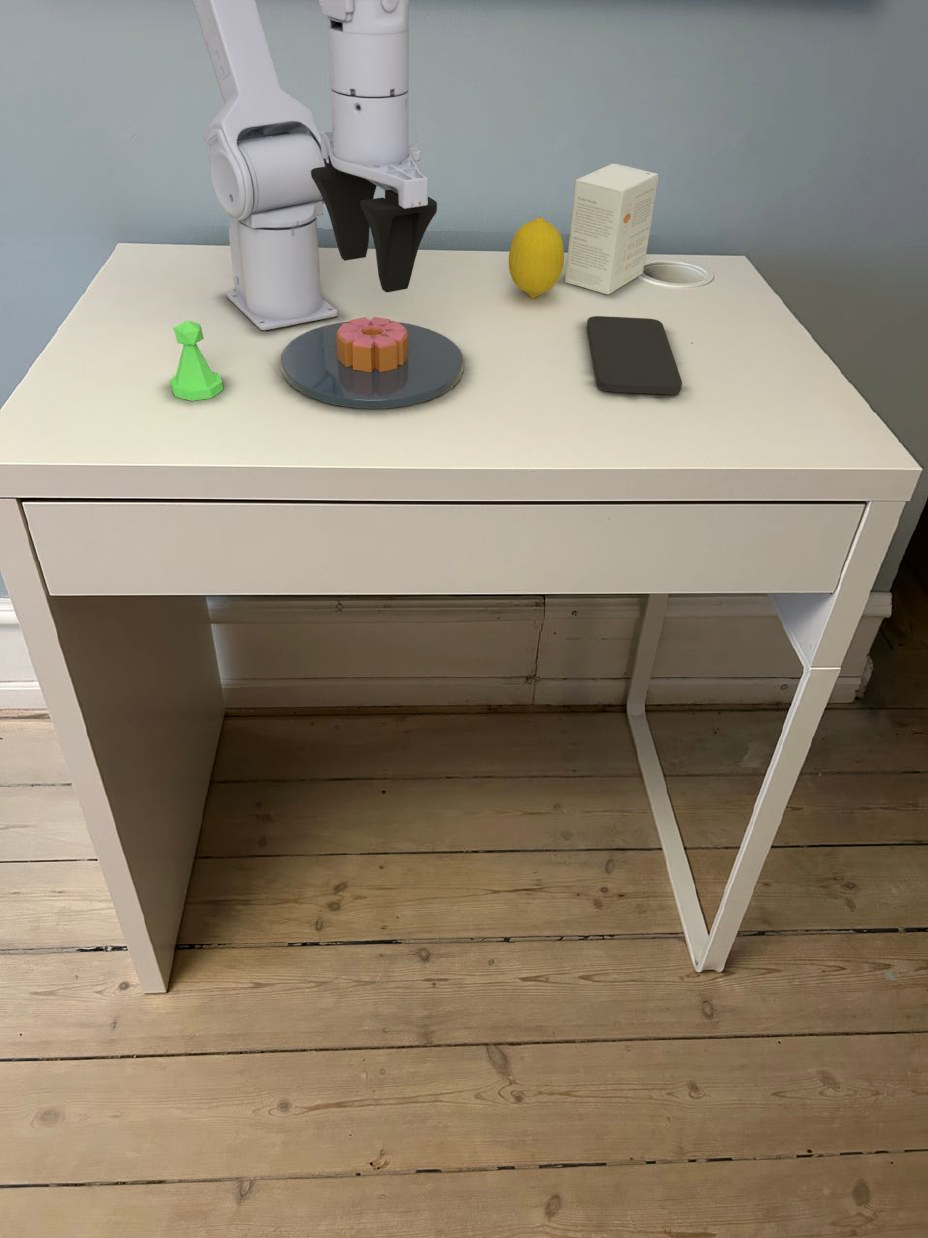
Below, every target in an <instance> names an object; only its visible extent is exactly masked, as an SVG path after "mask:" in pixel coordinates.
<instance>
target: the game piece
mask: <svg viewBox="0 0 928 1238" xmlns="http://www.w3.org/2000/svg"><path fill="white" fill-rule="evenodd" d="M173 331H174V334H175V338H176V343H177V344H180V345H182V346H183V347H182V349H181V355H180V358H179V362H178V365H177V370H176V374H175V375H174V376H173V377H172V378H170V380H169V381H170V387H171V390H172V393H173V394H174V397H176V398H178V399H183V400H187V401H191V402H194V401H201V400H207V399H213V398H214V397H216V396H217V395H218V394H220V393H221V392H222V391H224V386H223V379H222V377H221V376H220V374H219V372H216V371H213V370H212V369H211V367H210V365H209V364H208V362H207V360H206V359H205V356H204V355H203V352H202V351H201V349H200V347H199V346H198V343H200V342H201V341H203V340H205V338H204V333H203V330H202V327H201V323H198V322H196V321H195V322H194V321H191V320H185V321H183V322H181V323H179V324H178V325H176V326H175V327H173Z"/></svg>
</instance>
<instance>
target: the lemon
mask: <svg viewBox="0 0 928 1238" xmlns="http://www.w3.org/2000/svg"><path fill="white" fill-rule="evenodd" d="M508 252H509V253H508V270H509V274H510V277H511V279H512V282H513V283H514V284H515V286H516V287H517V288H518V289H519V290H521V291H522V292H524V293H526V294H527V295H528V297H529V298H531V299H536V298H537V297H538V296H540V295H541V294H543V293H546V292H548V291H549V290H551V289H552V288H553V287H554V286H555V285H556V284H557V283H558V281H559V279H560V278H561V275H562V273H563V269H564V264H565V249H564V241H563V237H562V235H561V233H560V231H559V230H558V229H557V228H556V227H555V226H554V225H553V224H552V223H550V222H548V221H546V220H545V219H544V217H541V216H538V217H535V218H534V220H530V221H528V222H526V223H524V224H523V225H521V227H519V228H518V229H517V230H516V232H515V234H514V236H513V238H512V241H511V244H510V248H509V251H508Z"/></svg>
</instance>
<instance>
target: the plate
mask: <svg viewBox="0 0 928 1238" xmlns="http://www.w3.org/2000/svg"><path fill="white" fill-rule="evenodd" d="M369 320H370V321H371V320H372V319H369ZM391 321H392V320H391ZM349 322H350V321H342V322H336V323H330V324H327V325H322V326H320V327H316V328H313V329H310V330H308V331H306V332H304V333H302V334H299V335H298V336H297V337H295V338H294V339H292V340H291V341H290V342H289V343H288V344H287V345H286V346H285V347H284V349H283V351H282V353H281V357H280V366H281V367H280V368H281V373H282V375H283V378H284V379H285V380H286V382H287V383H288V384H289V385H290V386H291V387H292V388H294V389H295V390H296V391H298V392H299V393H301V394H302V395H305V396H307V397H309V398H311V399H314V400H317V401H320V402H323V403H327V404H331V405H336V406H341V407H348V408H354V409H355V408H356V409H357V408H358V409H389V408H399V407H405V406H406V407H407V406H411V405H415V404H420V403H424V402H426V401H429V400H432V399H435V398H437V397H439V396H441V395H443V394H445V393H446V392H448V391H449V390H451V389H453V387H455V386H456V385H457V383H459V381H460V379H461V377H462V376H463V374H464V363H465V362H464V360H465V359H464V355H463V353H462V350H461V349H460V348H459V346H458V345H457V344H456V343H455V342H453V341H452V340H451V339H450V338H448V337H447V336H445V335H443V334H441V333H439V332H437V331H434V330H432V329H430V328H427V327H424V326H420V325H416V324H412V323H407V322H401V321H397V322H398V323H400V324H401V325H402V326H403V327H405V328H406V330H407V334H408V358H407V360H406V361H405V363H404V364H403V365H397V369H393V370H389V371H384V372H379V371H378V370H377V369H376V368H374V370H373V371H372V372H364V371H358V370H353V366H349V367H346V366H345V365H343V364H342V363H341V362H340V361H339V360H338V355H337V335H336V332H337V331H338V329H339V328H340V327H341V326H342V325H343V323H349ZM392 322H395V321H392Z"/></svg>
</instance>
